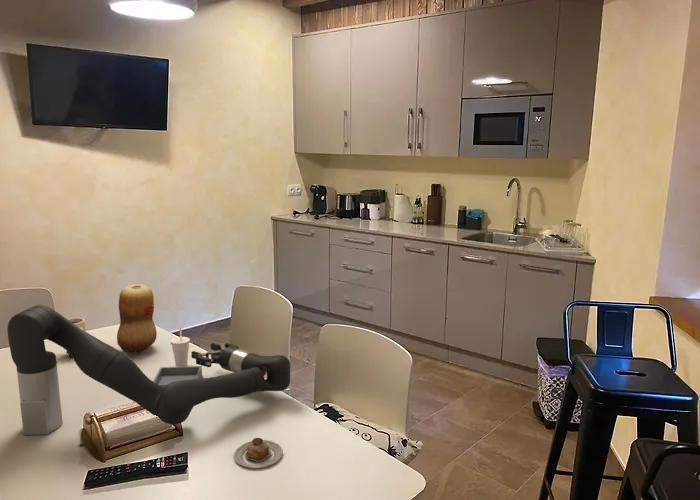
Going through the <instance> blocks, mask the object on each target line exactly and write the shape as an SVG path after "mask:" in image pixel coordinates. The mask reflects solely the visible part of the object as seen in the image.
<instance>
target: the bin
mask: <svg viewBox="0 0 700 500" xmlns="http://www.w3.org/2000/svg"><path fill="white" fill-rule="evenodd" d="M202 367H203V366H202V365H197V366H196V365H193V366H191V365H190V366H188V365H187V367H176V366H168V367H167V366H163V367H162V366H161V367H160V368H159V369H158V372H157V374H156V376H155V377H154V379H153V380H152V381H153V382H155V383H156V384H158V385H160V386H162V387H164V388H165V386H167V385H168V384H170V383H172V382H175V381H181V380H192V379H202V378H203V368H202Z"/></svg>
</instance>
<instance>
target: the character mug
mask: <svg viewBox="0 0 700 500" xmlns="http://www.w3.org/2000/svg"><path fill="white" fill-rule="evenodd" d="M66 319H67V320H69V321H70V322H71V323H73V324H74V325H76V326H77V327H79V328H80V329H82V330H84V331H85V332H86V323H85V322H86V320H85V319H84V318H82V317H71V318H66ZM66 355H68V357H69V358H72V356H71V355H70V353H69V352H68V351H67V350H66Z"/></svg>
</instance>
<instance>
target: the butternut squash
mask: <svg viewBox="0 0 700 500" xmlns="http://www.w3.org/2000/svg"><path fill="white" fill-rule="evenodd" d="M154 298H155V297H154V293H153V290H152V289H151V288H150V286H147V285H145V284H141V283H135V284H129V285H126V286H124V287H123V288H122V289H121V291H120V293H119V298H118V312H119V321H120V323H119V327H118V329H117V332H116V340H117V341H116V342H117V345H118V347H119V348H120V349H121V350H122V351H124V352H126V353H130V354H131V353H136V354H137V353H144V352H145V351H146V350H148V349H149V348H150V347H151V346H152V345H154V343H155V341H157V335H158V334H157V333H158V332H157V327H156V324H155V322H154V320H153V315H154V311H155V304H154Z"/></svg>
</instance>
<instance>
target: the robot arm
mask: <svg viewBox="0 0 700 500" xmlns="http://www.w3.org/2000/svg"><path fill="white" fill-rule="evenodd" d="M67 319H68V318H66V317H64V316H63V315H62V314H60V312H58V311H56V310H55V309H53V308H51V307H49V306H46V305H42V304H41V305H40V304H37V305H33V306H30V307H28V308H27V309H24V310H22V311H20V312H18V313H16V314H14V315H13V316H12V317H11V318H10V319H9V321H8V323H7V339H8V344H9V350H10V355H11V360H12V361H13V363H14V365H15V366H16V372H17V383H18V393H19V400H20V402H19V404H20V413H21V421H22V422H21V423H22V430H23V436H35V435H49V434H50V433H51V432H53V431H56V430H57V429H58V428H59V427H61V426H62V424H63V414H62V404H61V403H62V402H61V393H60V384H59V383H60V381H59V372H58V371H59V370H58V361H57V354H56V353H55V352H52V351H51V350H50V351H49V350H46V344H45V340H47V341H50V342H52V343H53V344H55V345H58V346H60V348H62V349H63V350H66V352H67V351H68V352H69V353H70V355H71V356H72V357H71V358H72V360H73V361H74V363H75V364H76V365H77V367H78V368H79V370H80V371H81V372H82V374H85V375H86V376H87V377H89V378H91V379H93V380H95V381H96V382H98V383H99V384H102V385H103V386H105V387H107V388H109V389H111V390H113V391H114V392H117V393H118V394H120V395H122V396H123V397H125V398H127V399H129V400H131V401H133V402H134V403H136V404H137V405H139V406H140V407H141V408H143V409H144V410H145V411H147V412H148V413H150V414H151V415H152V416H154V415H156V416H158V417H159V418H160V419H161V420H162V421H161V420H160V419H159V420H160V421H161V422H162V423H165V424H169V425H179V424H178V423H180V424H182V423H184V422H185V421H186V420H187V419H188V418H189V415H190V414H191V412H192V411H193V408H194V407H195V406H198V405H200V404H202V403H204V402H206V401H209V400H213V399H221V398H225V399H226V398H227V399H232V398H241V397H244V396H247V395H251V394H254V393H257V392H282V391H284V390H287V388H288V387H289V386H290V384H291V362H290V359H288V357H286V355H282V354H281V355H279V354H278V355H277V354H276V355H260V354H256V353H253V352H250V351H249V350H246V349H242V348H240V347H239V346H238V345H235V344H232V343H228V342H225V343H223V344H222V343H221V344H217V343H214V342H212V343H210V350H212V351H206V352H203V353H202V352H198V351H196V350H192V351H191V354H190V355H191V359H193V360H194V359H195V364H196V365H197V366H202V367H206V368H211V367H212V364H217V365H219V366H220V367H221V368H222V369H223V370H226V371H228V372H231V373H228V374H224V375H217V376H211V377H202V378H201V379H192V380H181V381H175V382H172V383H170V384H168V385H167V386H165V388H164V387H162V386H160V385H158V384H156V383H155V382H153V381H154V380H151V378H149V377H148V376H147V375H146V374H145V373H144V372H143V371H142V369H141V368H140V367H139V366H138V365H137V364H136V363H135V361H133V360H132V358H131V357H129V356H128V355H127V354H126V353H124V352H122V351H120V350H119V349H117V348H115V347H114V346H111V345H110V344H108V343H106V342H104V341H102V340H101V339H99V338H98V337H96V336H94V335H92V334H90V333H89V332H87V331H86V330H85V331H84V330H82V329H80V328H79V327H77V326H76V325H74V324H73V323H71V322H70V321H69V320H67ZM265 376H266V378H265Z"/></svg>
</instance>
